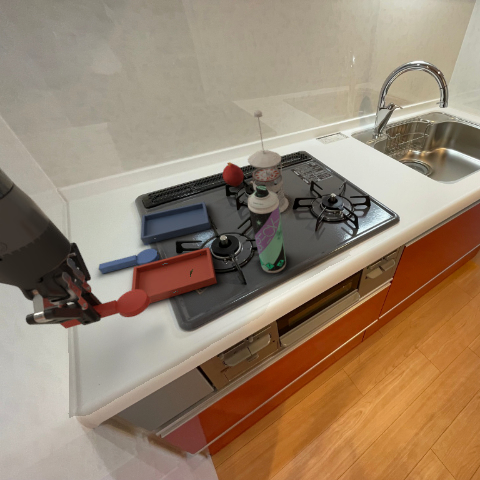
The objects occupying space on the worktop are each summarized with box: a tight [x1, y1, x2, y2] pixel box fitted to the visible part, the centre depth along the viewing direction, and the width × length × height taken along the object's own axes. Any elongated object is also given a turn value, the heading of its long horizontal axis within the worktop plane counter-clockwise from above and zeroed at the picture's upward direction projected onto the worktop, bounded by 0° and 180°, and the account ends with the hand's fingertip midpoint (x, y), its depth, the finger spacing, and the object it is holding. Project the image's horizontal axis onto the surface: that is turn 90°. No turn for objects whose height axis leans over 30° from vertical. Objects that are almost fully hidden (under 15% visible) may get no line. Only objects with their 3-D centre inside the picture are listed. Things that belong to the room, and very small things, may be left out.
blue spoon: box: [98, 248, 160, 275], centre depth 59 cm, size 11×4×2 cm, turn 113°
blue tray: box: [140, 201, 212, 246], centre depth 68 cm, size 15×9×2 cm, turn 113°
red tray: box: [131, 247, 218, 305], centre depth 56 cm, size 15×9×2 cm, turn 113°
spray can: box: [247, 185, 287, 274], centre depth 53 cm, size 6×6×20 cm
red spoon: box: [60, 289, 151, 329], centre depth 41 cm, size 11×4×2 cm, turn 113°
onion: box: [222, 161, 245, 188], centre depth 79 cm, size 6×6×8 cm
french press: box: [247, 109, 290, 214], centre depth 67 cm, size 10×12×25 cm
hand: (94, 315), depth 41 cm, fingers closed on red spoon, 1 cm apart
